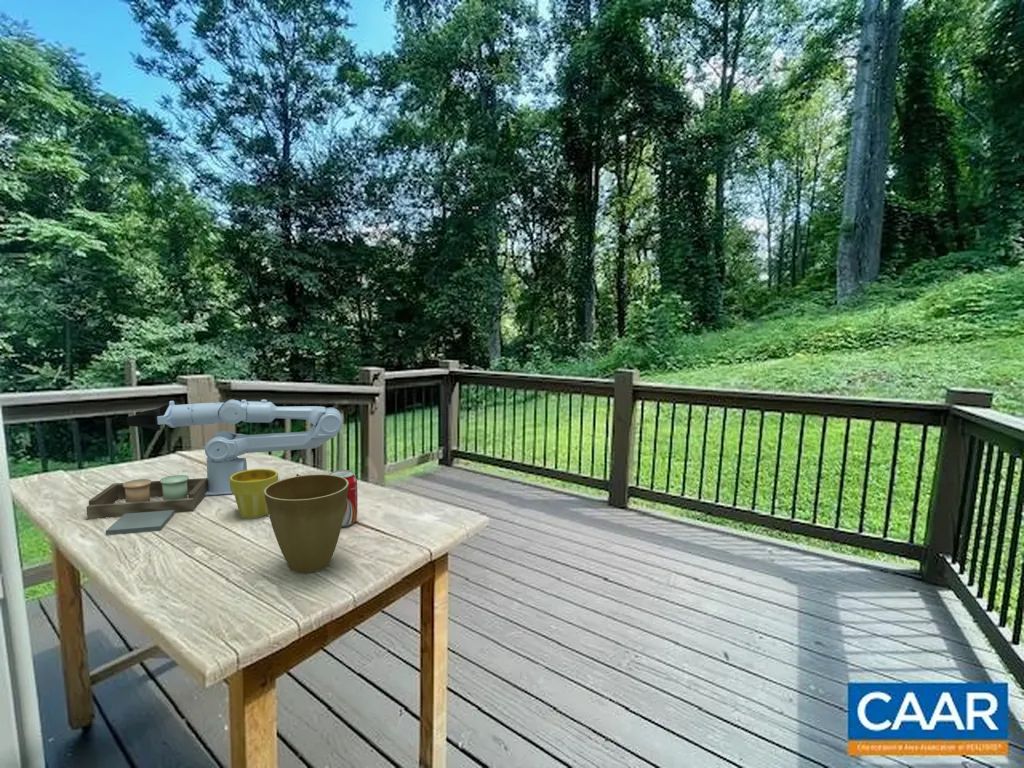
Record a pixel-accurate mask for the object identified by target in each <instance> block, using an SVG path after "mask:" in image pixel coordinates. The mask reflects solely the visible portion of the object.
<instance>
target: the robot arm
mask: <svg viewBox="0 0 1024 768" xmlns="http://www.w3.org/2000/svg"><path fill="white" fill-rule="evenodd" d="M125 419H126V421H125V422H126V427H127V426H128V427H135V428H140V427H141V428H145V429H151V430H154V431H156V432H157V431H161V425H167V426H168V427H169V428H172V429H173V428H174V429H175V428H177V427H190V426H201V425H203V426H204V425H213V424H214V425H215V424H220V423H225V424H228V425H233V426H234V425H237V424H239V423H240V422H243V423H266V424H267V423H272V422H273V421H274V420H275V419H283V420H284V419H290V420H305V421H307V422H309V423H310V424H311V425H312V426H311V427H310V429H309V430H307V431H293V432H278V433H277V432H275V433H274V432H273V433H262V434H244V433H233V432H231V431H228V430H224V431H223V430H222V431H219V432H217V433H215V434H214V435H213V436H212V438H211V439H210V440H209V441H208V442H206V444H205V447H204V454H205V456H206V478H207V482H208V491H207V492H206V493H205V495H206V496H216V495H217V496H218V495H232V494H233V495H234V493H232V492H231V490H230V477H231V476H232V475H233V474H235V473H238V472H241V471H245V470H248V467H247V466H248V463H247V458H246V457H238V456H241V455H244V454H253V453H254V454H255V453H266V452H268V453H269V452H280V451H295V450H298V451H299V450H310V449H311V450H312V449H317V448H319V447H320V446H322V445H323V444H325V443H326V442H327V441H329V440H331V439H333V438H335V437H337V435H338V434H339V433H340V430H341V429H342V428H343V419H342V414H341V412H340V411H339V410H338V409H337V408H334V407H326V406H321V405H320V406H319V405H318V406H317V405H314V406H313V405H312V406H311V405H310V406H309V405H308V406H307V405H306V406H303V405H302V406H300V405H299V406H298V405H297V406H296V405H294V406H292V405H291V406H277V405H275V404H274V403H273V402H272V401H268V400H267V399H261V400H260V401H247V399H241V401H240V400H236V399H234V398H231V399H228V400H226V401H225V402H223V401H222V402H219V401H218V402H199V403H198V402H197V403H189V404H188V403H187V404H186V403H185V404H184V403H183V404H175V401H174V400H170V401H169V402H168V403H167V404H165V405H163V406H161V407H157V408H153V409H149V410H144V411H140V412H137V413H136V414H135V415H133V414H132V415H130V416H126V418H125Z"/></svg>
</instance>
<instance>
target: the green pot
mask: <svg viewBox="0 0 1024 768" xmlns="http://www.w3.org/2000/svg"><path fill="white" fill-rule="evenodd" d="M189 479H190V476H189V475H186V474H175V475H170V476H164V477H162V478H160V479H159V481H160V483H161V484H162V489H163V497H162V500H171V499H186V498H188V491H187V481H188V480H189Z"/></svg>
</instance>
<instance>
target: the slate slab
mask: <svg viewBox="0 0 1024 768" xmlns="http://www.w3.org/2000/svg"><path fill="white" fill-rule="evenodd" d="M174 515H176V513H175V510H167V511H154V512H140V513H127V514H124V515H123V516H122V517H118V519H117V520H116V521H115V522H113V523H112V524H111V525H110V526H109V527H108V528H107V529H106V530H105V535H106V536H108V535H107V534H113V535H122V534H135V533H146V532H156V531H157V532H158V531H159V532H160V531H161V530H162V529H163V528H164V527H165V526H166V525H167V523H169V522H170V520H171V519H172V518H173V516H174ZM174 517H175V516H174Z"/></svg>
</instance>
